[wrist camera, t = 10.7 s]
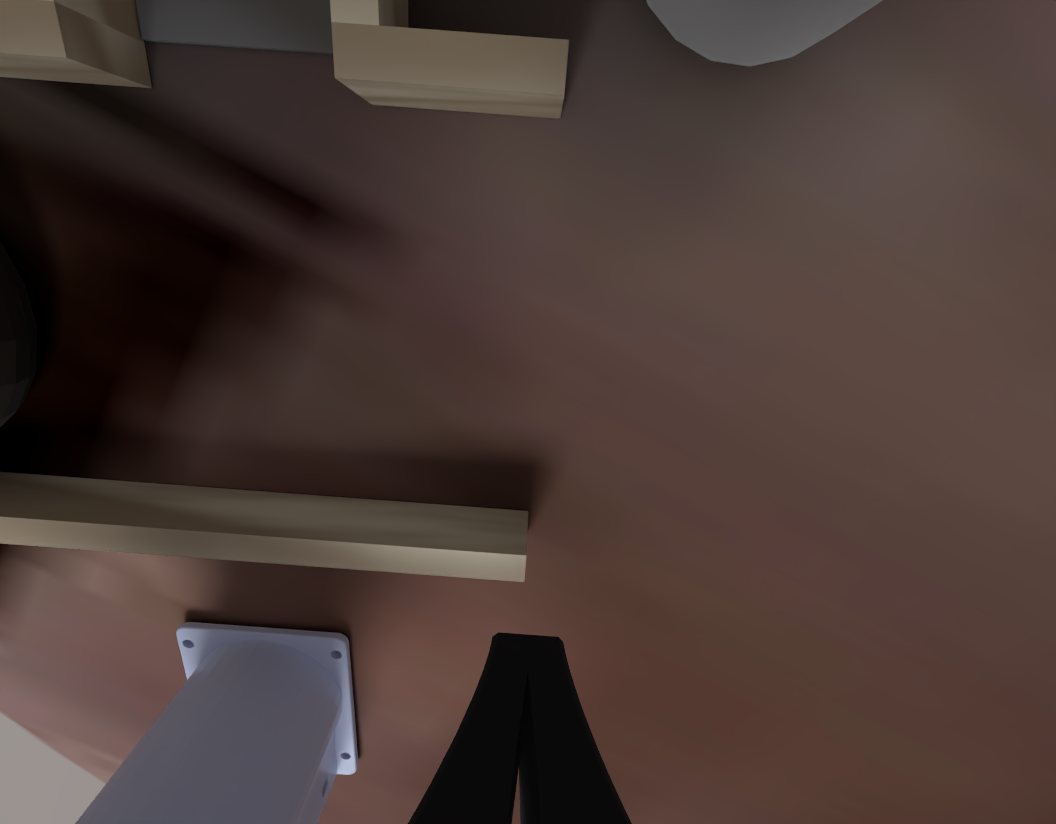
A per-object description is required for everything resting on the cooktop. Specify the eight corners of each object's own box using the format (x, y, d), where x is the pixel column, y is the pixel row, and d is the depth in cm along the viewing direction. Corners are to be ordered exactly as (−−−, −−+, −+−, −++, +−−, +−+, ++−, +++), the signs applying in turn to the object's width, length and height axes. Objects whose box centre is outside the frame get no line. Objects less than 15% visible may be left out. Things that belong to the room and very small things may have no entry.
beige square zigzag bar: (526, 534, 21) (524, 582, 18) (-195, 481, 21) (-308, 520, 18) (580, -128, 13) (590, -221, 11) (-554, -213, 13) (-843, -329, 11)
